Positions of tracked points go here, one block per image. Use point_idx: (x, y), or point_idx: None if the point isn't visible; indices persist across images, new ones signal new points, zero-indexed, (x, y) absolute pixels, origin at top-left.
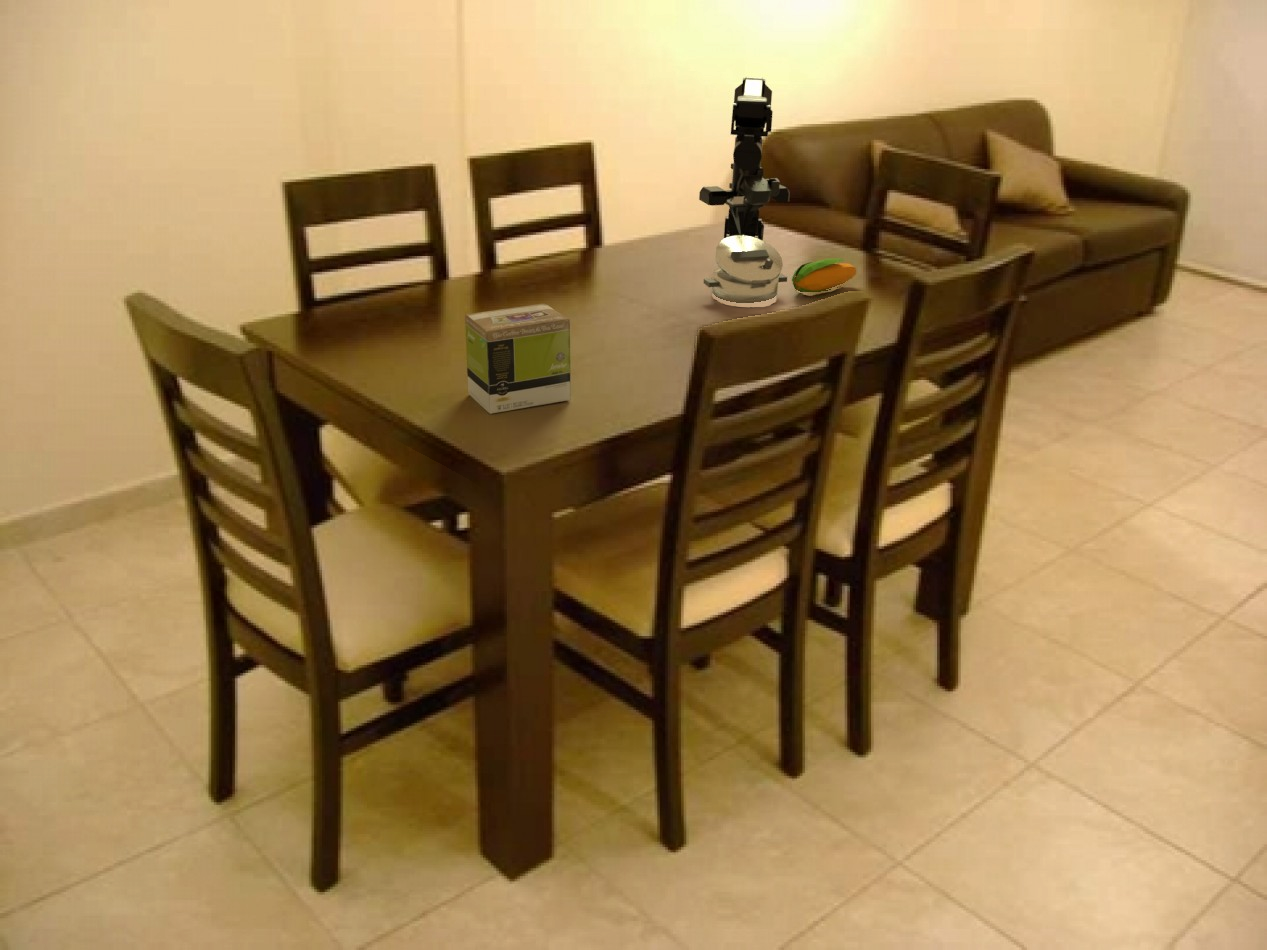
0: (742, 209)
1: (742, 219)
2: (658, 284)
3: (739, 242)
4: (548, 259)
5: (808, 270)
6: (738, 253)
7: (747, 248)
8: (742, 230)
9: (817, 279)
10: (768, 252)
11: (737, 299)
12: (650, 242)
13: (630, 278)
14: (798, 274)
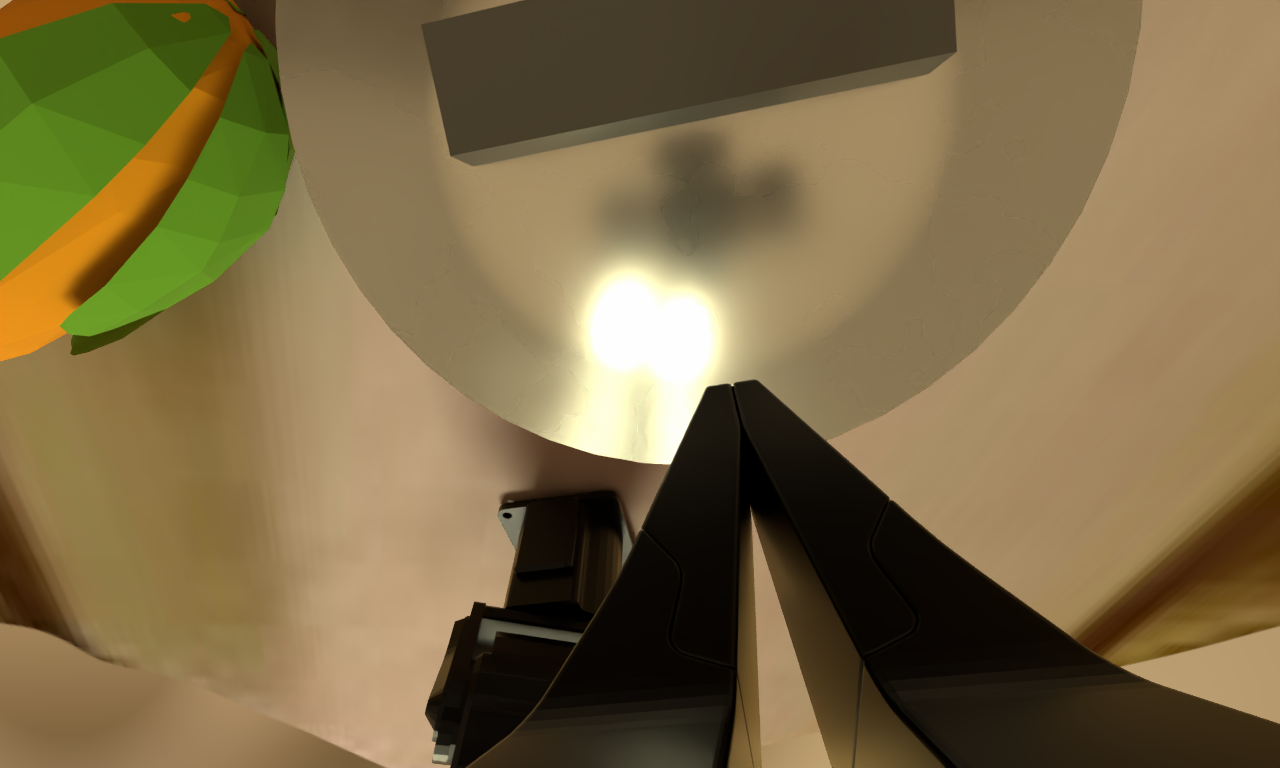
0: (1082, 750)
1: (834, 528)
2: (1057, 348)
3: (743, 342)
4: (1262, 621)
5: (60, 63)
6: (861, 22)
7: (669, 238)
8: (755, 410)
9: (15, 6)
10: (424, 186)
11: None
12: (806, 720)
13: (1128, 433)
14: (189, 78)
